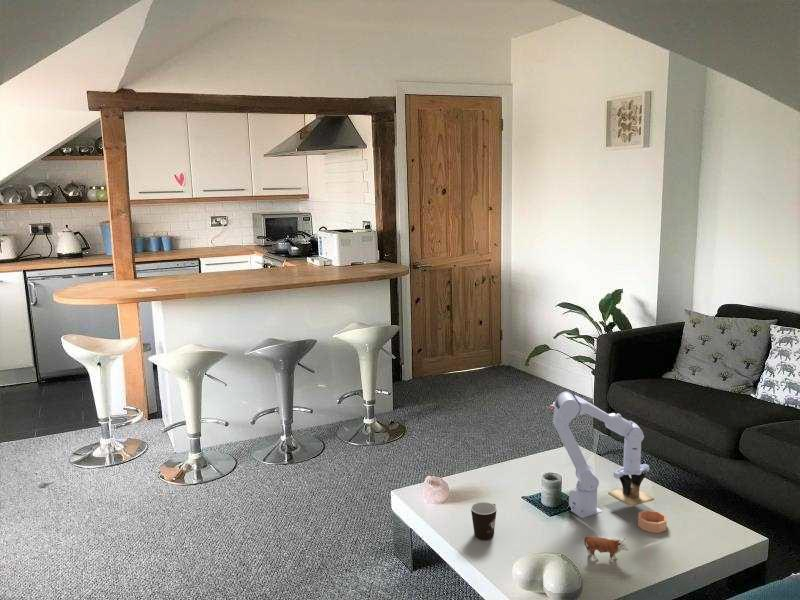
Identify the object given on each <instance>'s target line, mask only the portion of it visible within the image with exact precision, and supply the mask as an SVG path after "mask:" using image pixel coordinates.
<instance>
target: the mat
mask: <svg viewBox="0 0 800 600" xmlns="http://www.w3.org/2000/svg"><path fill="white" fill-rule="evenodd" d="M603 506H604V507H606V508H607V509H609V510H610V511H612V512H613V513H615V514H617V515H618V516H620V517H622V518H623V519H625V520H627V521H628V522H632V521H634V520H638V514H639V512H641V511H645V510H652V511H655V510H654V509H652V508H651V507H648V506H647V505H646V504H644V503H642V504H638V505H635V506H631V507H629V506H627V505H626V504H624V503H622V502H621V501H619V500H617V501H615V502H611V503H606V504H604V505H603Z"/></svg>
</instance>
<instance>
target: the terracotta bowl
mask: <svg viewBox="0 0 800 600" xmlns="http://www.w3.org/2000/svg"><path fill="white" fill-rule="evenodd" d="M652 510H653V509H652ZM652 510H645V511H641V512H639V514H638V519H637V527H638V528H639V529H641V530H643V531H645V532H648V533H652V534H660V533H663V532H665V531H667V521H668V517H667V515H666V514H664V513H662V512H660V511H658V510H654V511H652Z"/></svg>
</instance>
